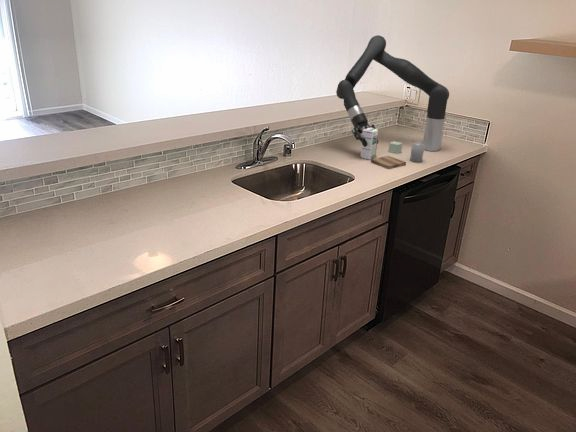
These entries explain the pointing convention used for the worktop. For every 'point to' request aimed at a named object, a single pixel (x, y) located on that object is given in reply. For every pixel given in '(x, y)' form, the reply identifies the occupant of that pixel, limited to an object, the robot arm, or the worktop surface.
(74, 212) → the worktop surface
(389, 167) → the walnut board
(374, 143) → the syrup box
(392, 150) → the sage block
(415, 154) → the grey rounded cylinder
